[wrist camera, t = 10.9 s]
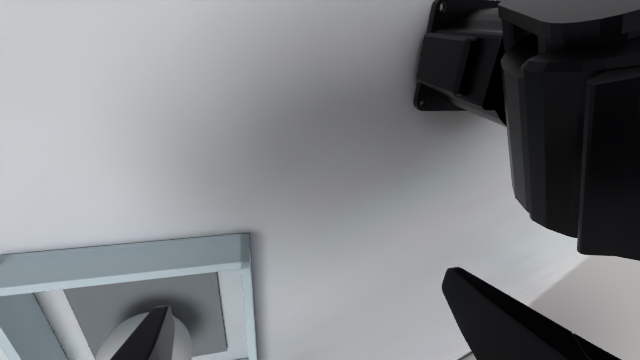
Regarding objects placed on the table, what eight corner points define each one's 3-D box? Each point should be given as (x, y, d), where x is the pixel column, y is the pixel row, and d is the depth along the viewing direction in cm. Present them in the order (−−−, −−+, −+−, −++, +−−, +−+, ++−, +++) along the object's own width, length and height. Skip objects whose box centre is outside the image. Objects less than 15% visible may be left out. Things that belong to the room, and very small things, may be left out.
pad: (215, 263, 23) (215, 266, 23) (226, 347, 28) (226, 350, 28) (62, 280, 21) (60, 283, 21) (102, 368, 26) (101, 371, 25)
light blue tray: (249, 232, 23) (249, 260, 20) (257, 360, 30) (258, 393, 27) (0, 255, 19) (-37, 292, 17) (76, 392, 26) (58, 433, 24)
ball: (190, 288, 24) (179, 364, 18) (200, 338, 26) (192, 417, 21) (101, 300, 22) (61, 387, 17) (121, 353, 25) (93, 441, 20)
